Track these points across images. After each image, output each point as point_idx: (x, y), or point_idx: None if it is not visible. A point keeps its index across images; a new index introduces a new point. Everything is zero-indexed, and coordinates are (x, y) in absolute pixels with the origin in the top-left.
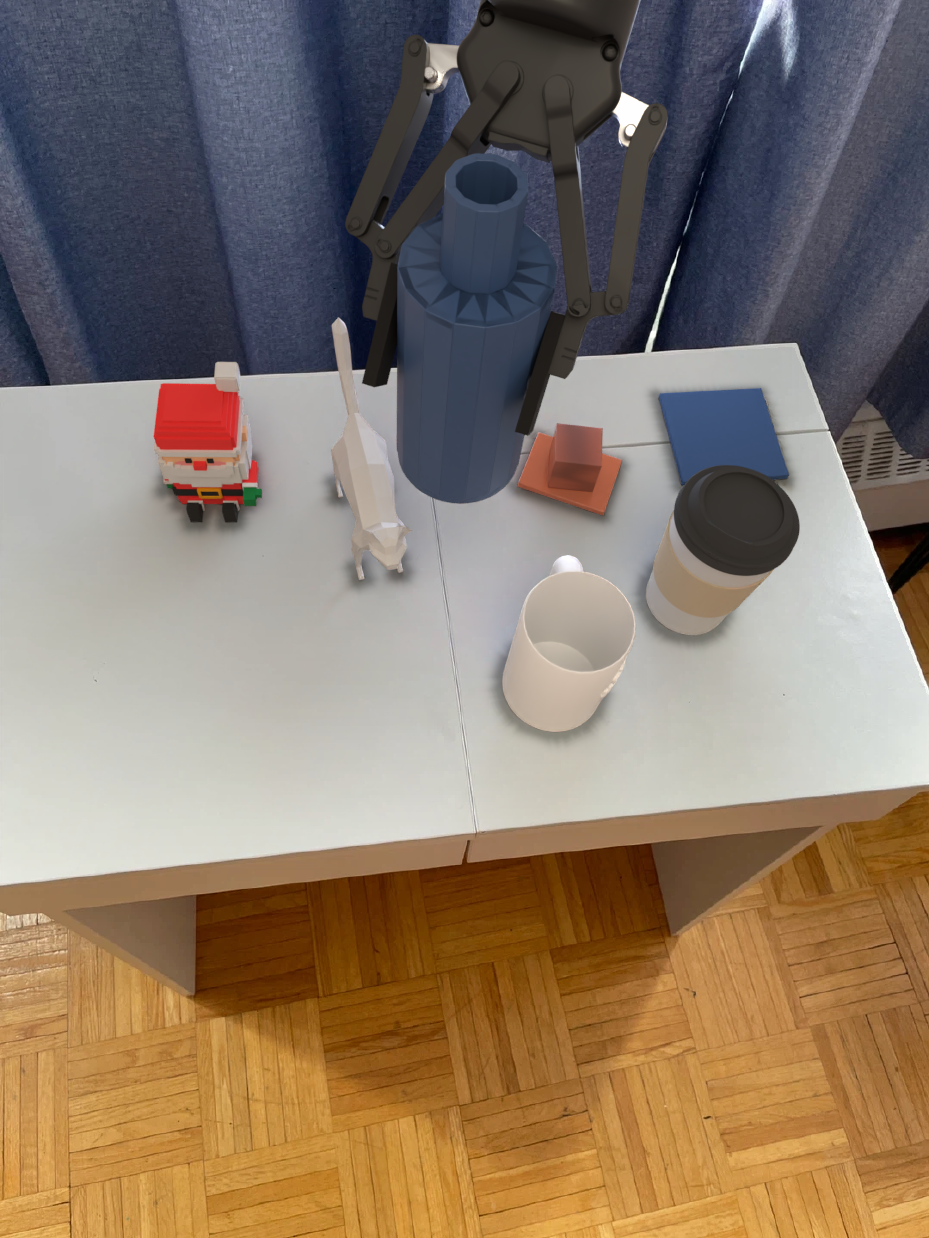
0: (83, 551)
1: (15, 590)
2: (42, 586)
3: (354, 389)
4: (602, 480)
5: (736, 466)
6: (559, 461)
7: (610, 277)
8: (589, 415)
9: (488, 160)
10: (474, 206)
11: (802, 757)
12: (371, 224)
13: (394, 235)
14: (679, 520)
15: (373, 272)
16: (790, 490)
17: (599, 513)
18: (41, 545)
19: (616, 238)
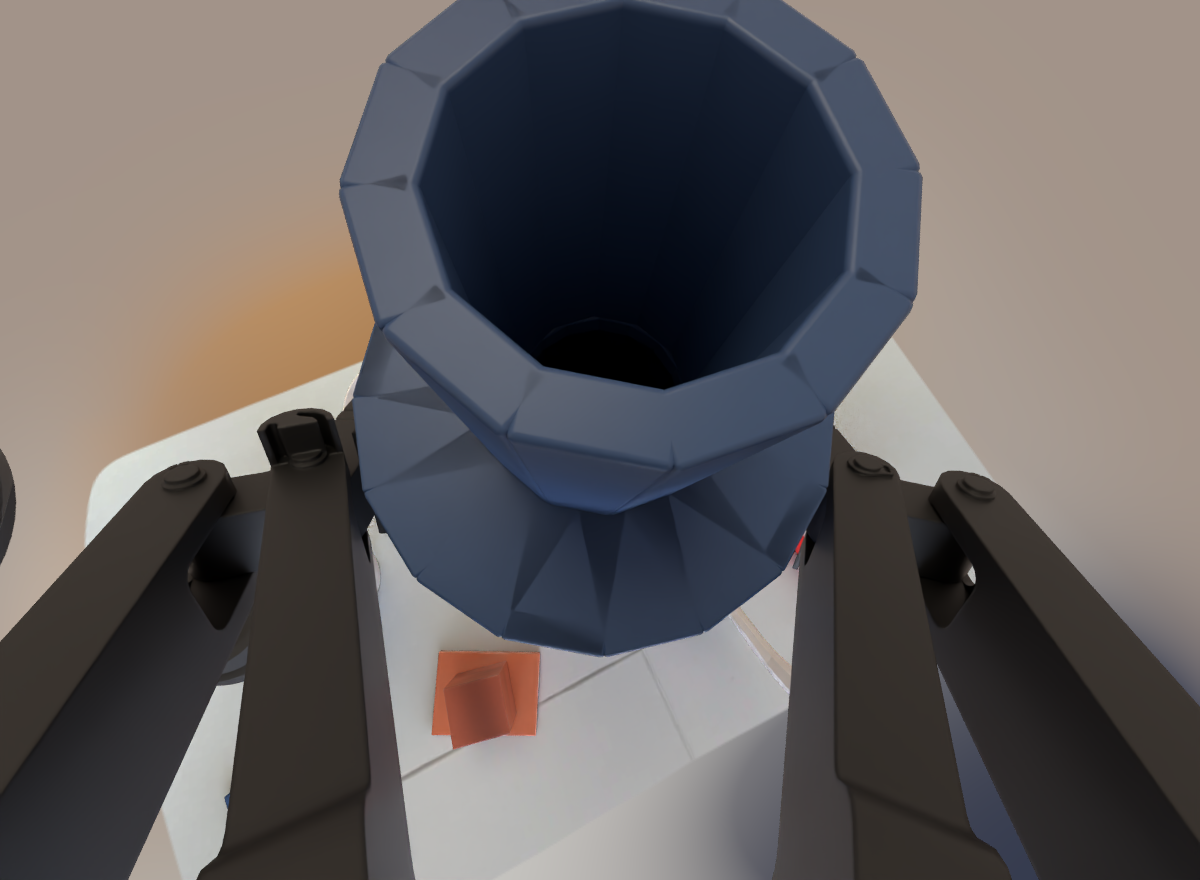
0: (890, 429)
1: (916, 378)
2: (900, 388)
3: (750, 641)
4: None
5: (225, 679)
6: (493, 675)
7: (183, 523)
8: (483, 791)
9: (706, 378)
10: None
11: (209, 452)
12: (936, 515)
13: (864, 487)
14: None
15: (845, 446)
16: (224, 776)
17: (444, 650)
18: (924, 423)
19: (106, 625)
